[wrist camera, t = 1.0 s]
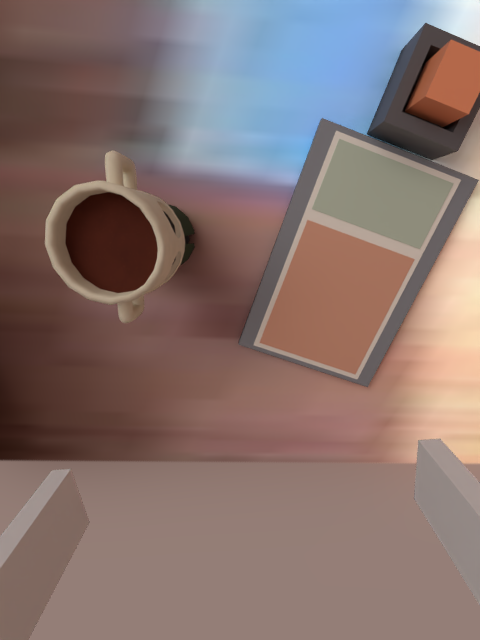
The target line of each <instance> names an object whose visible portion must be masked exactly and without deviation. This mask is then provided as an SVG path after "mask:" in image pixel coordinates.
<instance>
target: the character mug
mask: <svg viewBox="0 0 480 640" xmlns="http://www.w3.org/2000/svg"><path fill="white" fill-rule="evenodd" d="M105 171H106V182H105V181H93V182H88V183H83V184H78V185H74V186H73V187H72V188H70V189H69V190H68V191H66V192H65V193H64V194H63V195H61V196H60V197H59V198H57V199H56V201H55V203H54V205H53V207H52V209H51V211H50V213H49V215H48V217H47V219H46V229H45V246H46V249H47V252H48V255H49V257H50V260H51V263H52V266H53V268H54V269H55V271H56V272H57V273H58V274H59V276H60V277H61V278H62V279H63V281H64V282H65V283H66V284H67V286H68V287H70V288H71V289H73V290H74V291H76V292H77V293H79V294H80V295H82V296H83V297H85V298H87V299H88V300H92V301H96V302H100V303H105V304H109V305H113V304H118V314H119V318H120V321H122V322H123V323H129V322H132V321H133V320H135V319H136V318H137V317H138V316H139V315H141V314H142V312H143V310H144V295H145V294H147V293H149V292H152V291H154V290H155V289H157V288H159V287H160V286H161V285H163V284H164V283H166V282H168V281H169V280H170V278H171V277H172V276H173V275H174V274H175V272H176V271H177V269H178V267H179V266H180V265H181V264H183V263H184V262H185V261H186V260H188V259H189V257H190V255H191V253H192V251H193V249H194V243H193V244H188V243H189V235H192V234H194V229H193V227H192V225H191V223H190V221H189V219H188V217H187V216H186V215H185V214H184V213H183V212H181V211H180V210H179V209H178V208H177V207H175V206H172V205H168V204H167V203H166V202H164V201H163V200H162V199H160V198H158V197H156V196H154V195H151V194H149V193H146V192H143V191H139V190H137V179H136V169H135V165H134V163H133V161H132V160H131V159H129V158H127V157H125V156H124V155H122V154H120V153H118V152H116V151H114V150H113V151H110V152H108V153H106V154H105Z"/></svg>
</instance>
